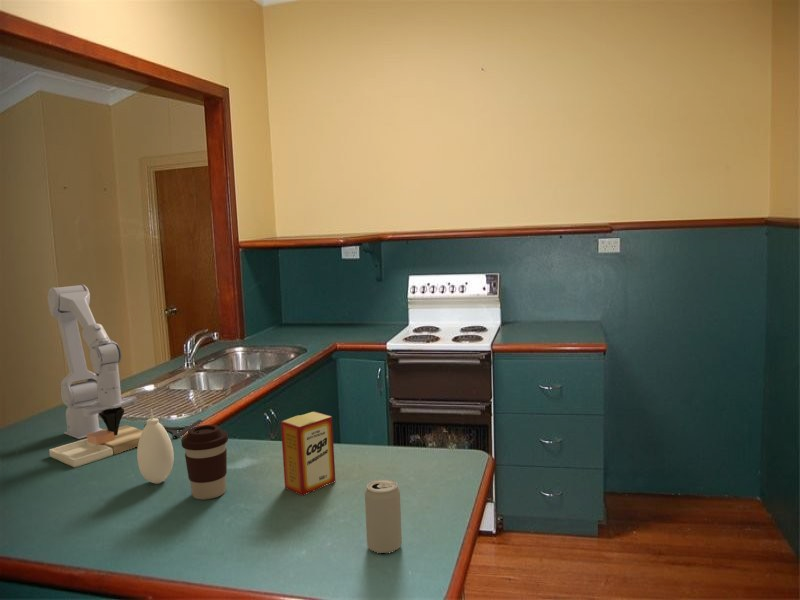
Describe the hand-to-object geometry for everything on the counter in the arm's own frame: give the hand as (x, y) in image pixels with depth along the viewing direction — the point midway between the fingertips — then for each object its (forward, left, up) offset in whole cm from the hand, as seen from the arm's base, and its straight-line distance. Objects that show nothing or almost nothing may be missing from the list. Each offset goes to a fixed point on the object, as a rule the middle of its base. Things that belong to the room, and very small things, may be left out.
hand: (113, 434), depth 177 cm
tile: (0, -4, -1) cm, 4 cm away
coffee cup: (+50, -4, -3) cm, 50 cm away
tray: (0, -9, -3) cm, 10 cm away
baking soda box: (+66, +12, -3) cm, 67 cm away
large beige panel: (0, +2, -3) cm, 4 cm away
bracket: (0, +16, -4) cm, 17 cm away
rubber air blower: (+34, -7, -3) cm, 35 cm away
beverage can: (+98, 0, -3) cm, 98 cm away
